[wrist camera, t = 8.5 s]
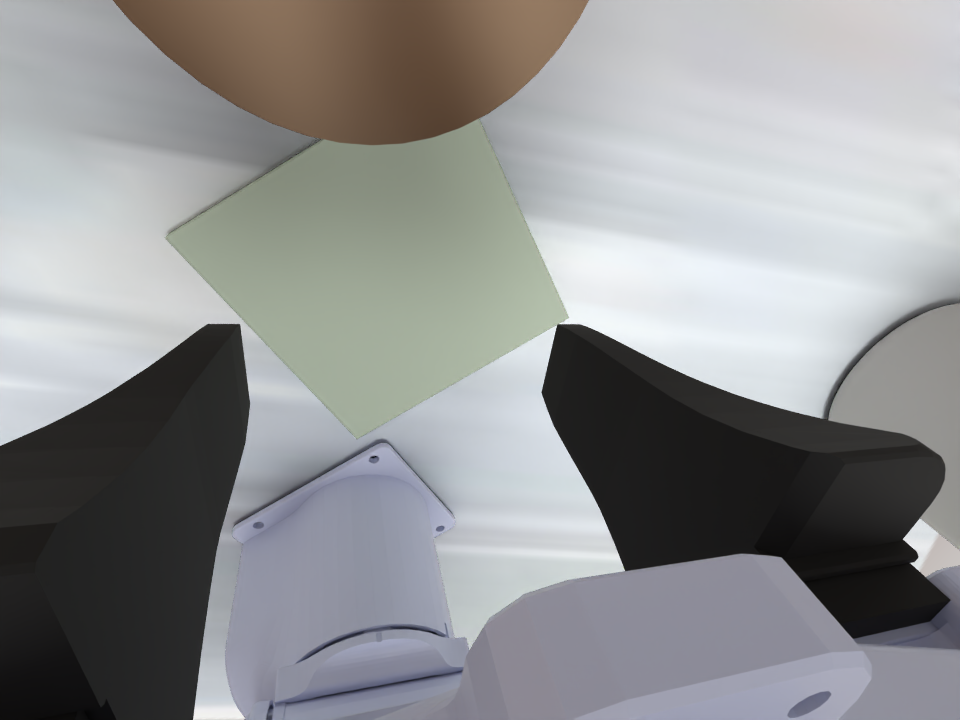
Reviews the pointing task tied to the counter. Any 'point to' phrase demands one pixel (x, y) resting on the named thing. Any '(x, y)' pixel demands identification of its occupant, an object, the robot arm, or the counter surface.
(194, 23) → the walnut lid
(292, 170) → the sage mat
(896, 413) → the cylinder vase
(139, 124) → the counter surface
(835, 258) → the counter surface
